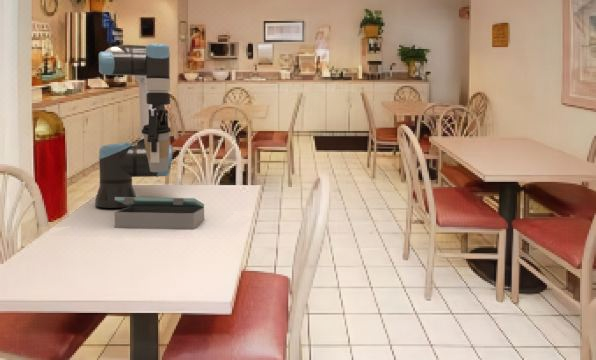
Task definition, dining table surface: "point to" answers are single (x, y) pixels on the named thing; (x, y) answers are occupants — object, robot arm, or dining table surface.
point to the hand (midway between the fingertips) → (159, 161)
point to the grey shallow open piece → (159, 217)
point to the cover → (160, 202)
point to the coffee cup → (163, 148)
